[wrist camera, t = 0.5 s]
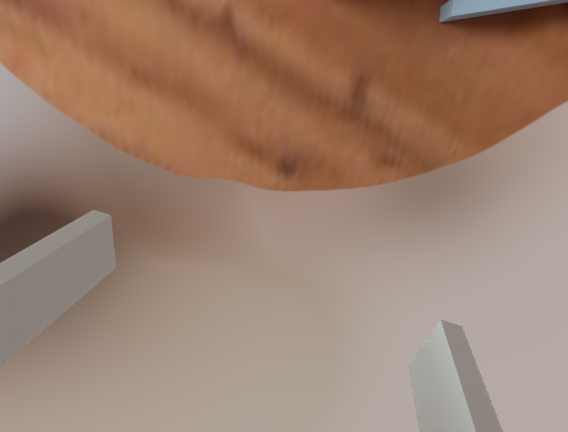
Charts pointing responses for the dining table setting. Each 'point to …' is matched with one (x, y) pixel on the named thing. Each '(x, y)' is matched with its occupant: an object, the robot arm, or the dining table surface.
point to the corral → (487, 7)
